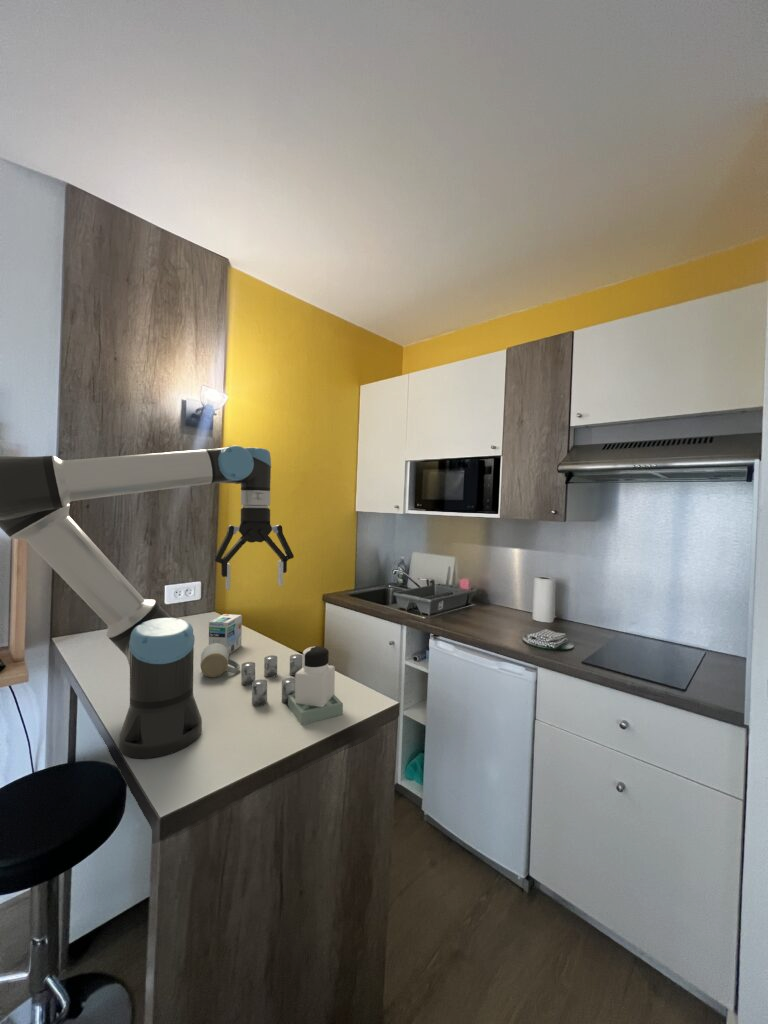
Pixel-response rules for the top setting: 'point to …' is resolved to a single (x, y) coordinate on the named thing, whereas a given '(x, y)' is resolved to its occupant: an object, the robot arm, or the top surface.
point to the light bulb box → (226, 631)
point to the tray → (315, 710)
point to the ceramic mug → (217, 661)
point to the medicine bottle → (315, 678)
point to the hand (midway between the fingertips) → (254, 587)
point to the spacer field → (270, 671)
